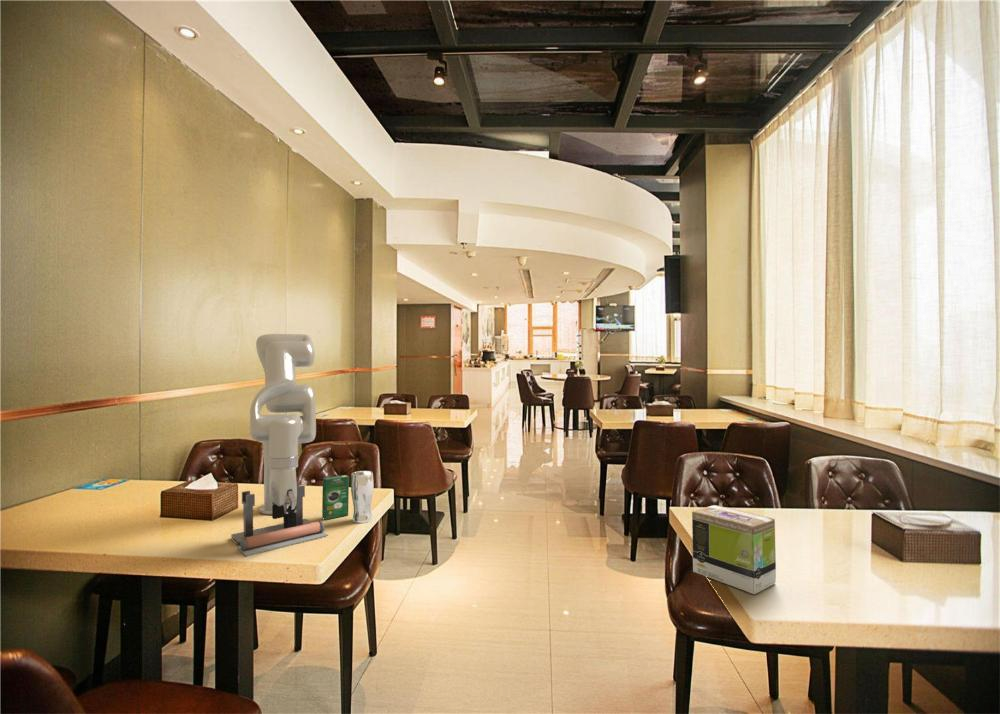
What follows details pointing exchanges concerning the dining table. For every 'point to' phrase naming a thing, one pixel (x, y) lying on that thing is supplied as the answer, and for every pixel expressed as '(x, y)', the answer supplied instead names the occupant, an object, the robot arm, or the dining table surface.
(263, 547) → the mat
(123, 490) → the dining table surface
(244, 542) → the rod
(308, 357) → the robot arm
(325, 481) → the coffee box
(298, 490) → the hook stand
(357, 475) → the beer glass
